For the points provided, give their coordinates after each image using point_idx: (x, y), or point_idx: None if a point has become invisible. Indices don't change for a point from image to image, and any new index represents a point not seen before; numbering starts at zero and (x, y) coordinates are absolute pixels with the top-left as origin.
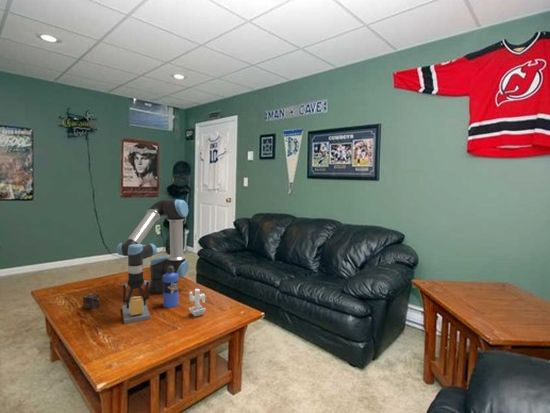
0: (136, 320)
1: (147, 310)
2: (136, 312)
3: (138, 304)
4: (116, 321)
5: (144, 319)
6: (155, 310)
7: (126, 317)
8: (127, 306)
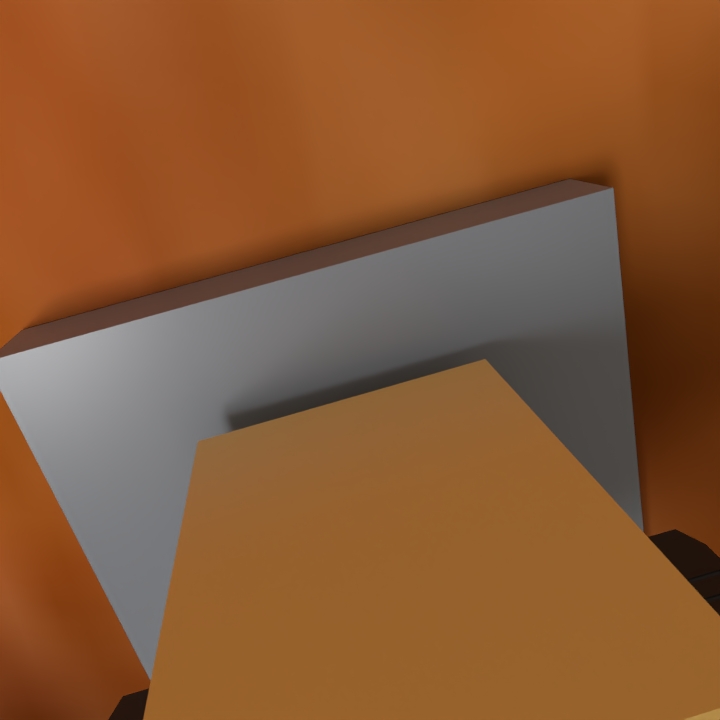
0: (321, 252)
1: (149, 642)
2: (358, 424)
3: (321, 614)
4: (716, 337)
5: (144, 298)
6: (36, 709)
7: (569, 348)
8: (701, 576)
